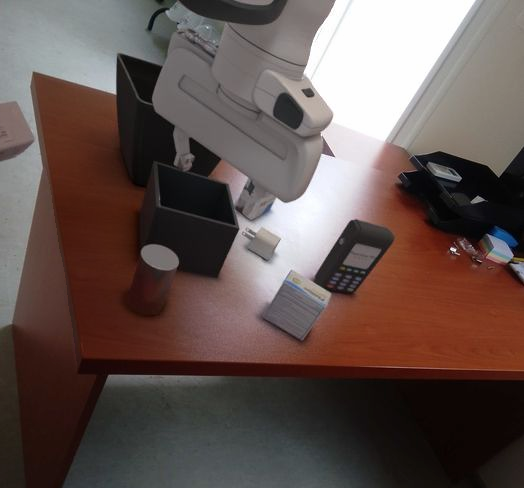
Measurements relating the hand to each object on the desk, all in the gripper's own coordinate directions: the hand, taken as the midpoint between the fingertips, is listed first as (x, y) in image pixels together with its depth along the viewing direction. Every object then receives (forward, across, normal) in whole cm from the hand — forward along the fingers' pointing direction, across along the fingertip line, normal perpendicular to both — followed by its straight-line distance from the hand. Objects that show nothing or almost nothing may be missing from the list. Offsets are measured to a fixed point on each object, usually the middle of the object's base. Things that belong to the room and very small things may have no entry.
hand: (212, 189), depth 56 cm
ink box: (+21, -7, +40) cm, 45 cm away
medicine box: (+21, +15, +14) cm, 29 cm away
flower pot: (+21, -25, +29) cm, 44 cm away
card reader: (+20, +18, +33) cm, 42 cm away
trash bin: (+20, -8, +14) cm, 26 cm away
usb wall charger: (+21, +1, +28) cm, 35 cm away
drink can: (+20, -2, -2) cm, 21 cm away
